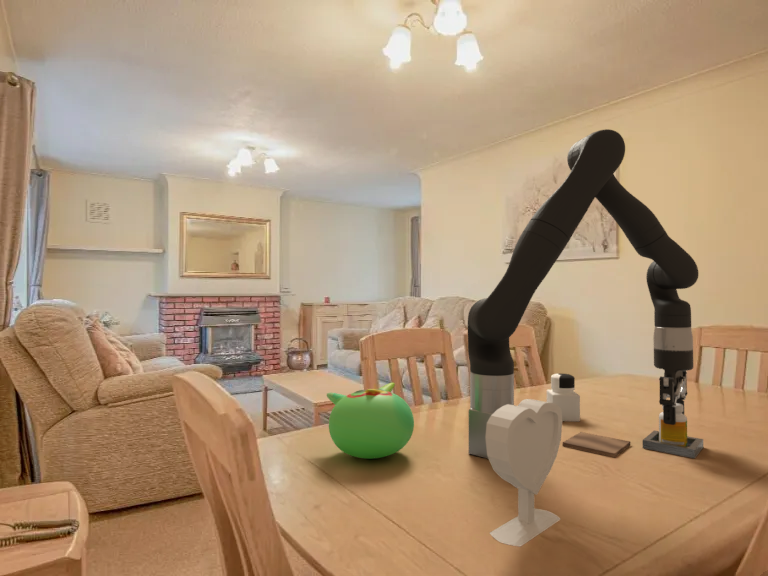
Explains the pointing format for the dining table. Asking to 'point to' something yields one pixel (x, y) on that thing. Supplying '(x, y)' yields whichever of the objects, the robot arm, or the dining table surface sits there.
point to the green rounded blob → (370, 422)
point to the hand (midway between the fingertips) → (674, 420)
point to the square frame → (673, 446)
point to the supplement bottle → (674, 428)
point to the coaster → (597, 444)
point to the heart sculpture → (524, 462)
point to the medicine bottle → (565, 396)
